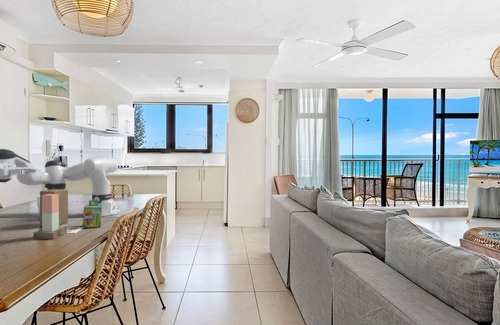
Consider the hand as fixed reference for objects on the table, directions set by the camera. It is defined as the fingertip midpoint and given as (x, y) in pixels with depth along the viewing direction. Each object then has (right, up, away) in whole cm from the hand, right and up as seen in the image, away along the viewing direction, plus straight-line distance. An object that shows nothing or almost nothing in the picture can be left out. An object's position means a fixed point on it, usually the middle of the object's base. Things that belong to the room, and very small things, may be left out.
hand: (28, 171), depth 156 cm
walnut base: (+15, -32, -6) cm, 36 cm away
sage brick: (+15, -29, -6) cm, 34 cm away
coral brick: (+16, -20, -6) cm, 26 cm away
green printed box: (+25, -32, +16) cm, 44 cm away
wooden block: (+1, -32, +19) cm, 37 cm away
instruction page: (+19, -32, +6) cm, 38 cm away
